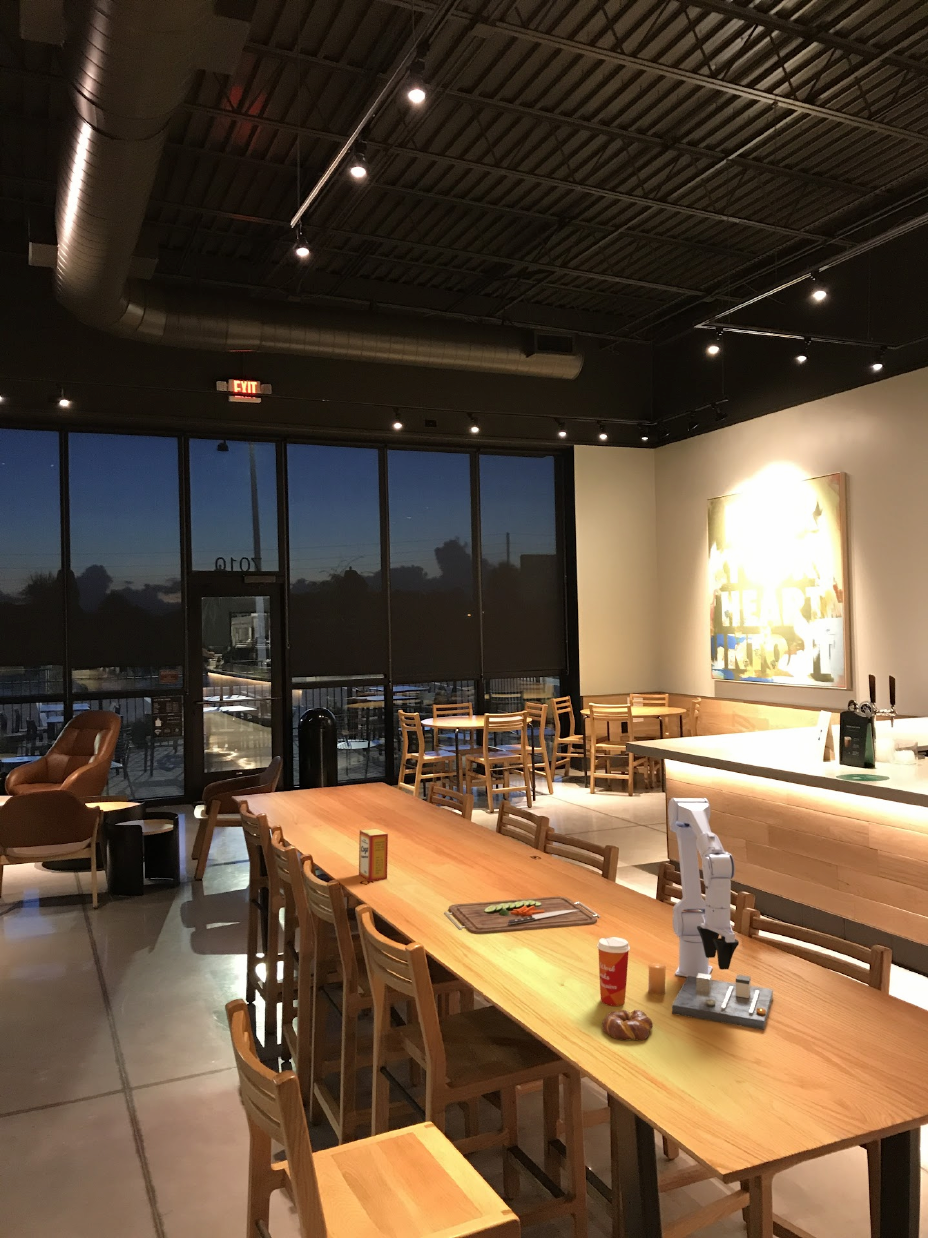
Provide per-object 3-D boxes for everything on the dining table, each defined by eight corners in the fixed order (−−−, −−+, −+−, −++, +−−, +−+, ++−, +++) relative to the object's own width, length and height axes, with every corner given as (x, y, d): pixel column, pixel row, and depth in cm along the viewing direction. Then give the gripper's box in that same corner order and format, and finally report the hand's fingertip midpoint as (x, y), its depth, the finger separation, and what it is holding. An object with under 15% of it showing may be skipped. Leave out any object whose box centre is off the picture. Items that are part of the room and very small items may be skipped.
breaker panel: (687, 983, 230) (688, 963, 230) (772, 997, 222) (772, 976, 222) (672, 1013, 212) (672, 991, 212) (763, 1030, 204) (764, 1007, 204)
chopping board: (571, 899, 303) (571, 890, 303) (608, 924, 278) (608, 914, 278) (439, 910, 290) (439, 900, 290) (464, 937, 264) (465, 926, 264)
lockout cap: (650, 987, 228) (650, 962, 228) (666, 989, 226) (667, 965, 226) (646, 992, 224) (647, 967, 224) (663, 995, 223) (663, 970, 223)
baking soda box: (358, 875, 328) (359, 829, 328) (375, 872, 331) (376, 827, 331) (369, 881, 319) (370, 834, 320) (387, 879, 323) (387, 833, 323)
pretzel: (619, 1016, 211) (619, 1000, 211) (663, 1030, 204) (663, 1013, 204) (591, 1033, 202) (591, 1016, 202) (636, 1048, 195) (636, 1030, 195)
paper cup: (590, 997, 221) (591, 938, 221) (618, 993, 223) (619, 935, 224) (606, 1010, 213) (607, 948, 214) (635, 1006, 216) (636, 945, 216)
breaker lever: (737, 991, 220) (737, 974, 220) (750, 993, 219) (750, 976, 219) (735, 996, 217) (735, 979, 217) (748, 998, 216) (749, 981, 216)
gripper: (689, 897, 226) (688, 953, 226) (714, 915, 212) (713, 975, 212) (716, 896, 227) (716, 951, 227) (743, 914, 213) (743, 974, 213)
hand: (716, 963), depth 220 cm, fingers open, 7 cm apart
